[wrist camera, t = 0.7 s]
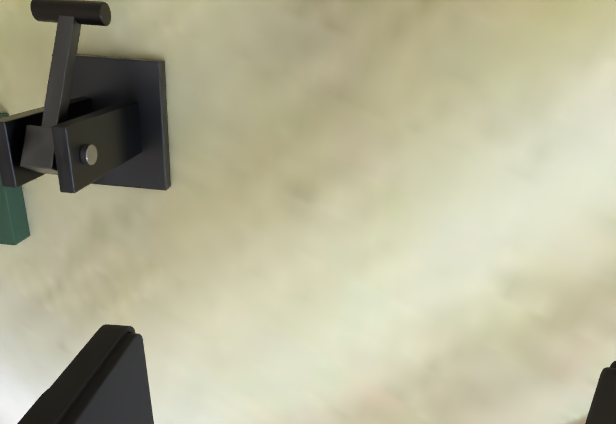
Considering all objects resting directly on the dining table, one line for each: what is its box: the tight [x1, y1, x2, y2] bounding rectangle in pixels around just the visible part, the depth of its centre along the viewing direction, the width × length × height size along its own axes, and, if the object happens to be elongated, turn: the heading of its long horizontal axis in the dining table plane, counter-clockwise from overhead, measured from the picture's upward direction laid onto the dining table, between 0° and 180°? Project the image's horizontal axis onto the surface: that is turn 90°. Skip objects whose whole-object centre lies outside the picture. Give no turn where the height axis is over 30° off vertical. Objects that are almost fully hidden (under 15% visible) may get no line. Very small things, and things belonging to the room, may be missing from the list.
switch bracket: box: [0, 54, 171, 193], centre depth 36 cm, size 11×9×12 cm
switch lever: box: [20, 0, 111, 175], centre depth 32 cm, size 12×5×2 cm, turn 175°
